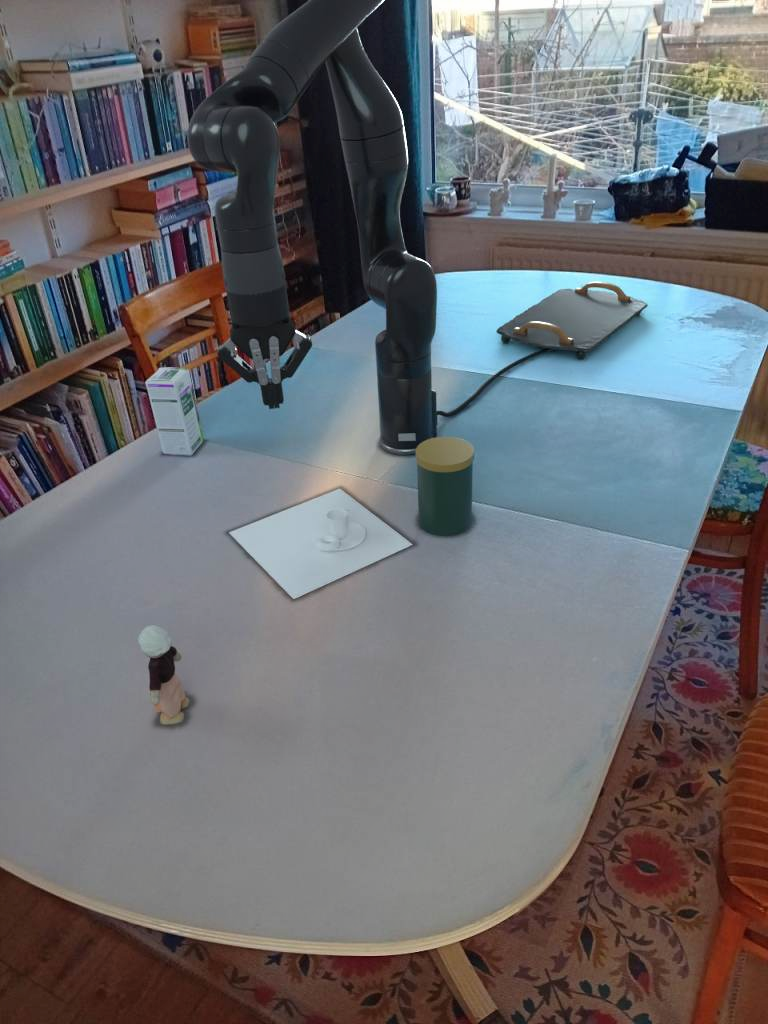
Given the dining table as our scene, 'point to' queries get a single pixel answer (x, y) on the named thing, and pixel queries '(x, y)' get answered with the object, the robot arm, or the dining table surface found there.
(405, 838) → the dining table surface
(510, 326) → the serving tray
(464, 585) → the dining table surface
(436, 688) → the dining table surface
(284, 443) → the dining table surface
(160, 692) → the grandmother figurine
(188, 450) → the syrup box
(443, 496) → the tea tin
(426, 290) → the robot arm
